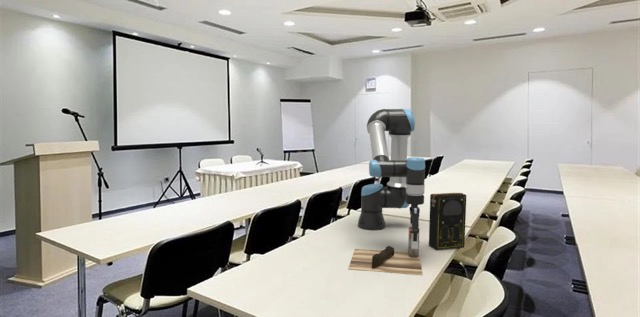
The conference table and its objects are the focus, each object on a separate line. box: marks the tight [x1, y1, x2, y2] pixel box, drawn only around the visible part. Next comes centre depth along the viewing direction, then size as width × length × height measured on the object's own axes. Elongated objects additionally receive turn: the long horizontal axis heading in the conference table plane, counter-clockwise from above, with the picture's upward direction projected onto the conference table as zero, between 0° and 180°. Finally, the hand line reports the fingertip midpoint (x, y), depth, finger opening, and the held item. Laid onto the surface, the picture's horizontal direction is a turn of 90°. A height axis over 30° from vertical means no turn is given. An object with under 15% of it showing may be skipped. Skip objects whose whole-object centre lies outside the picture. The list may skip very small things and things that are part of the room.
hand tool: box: [372, 245, 396, 268], centre depth 150 cm, size 19×4×5 cm, turn 145°
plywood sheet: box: [347, 248, 424, 276], centre depth 151 cm, size 24×28×1 cm
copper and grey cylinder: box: [407, 226, 420, 258], centre depth 156 cm, size 4×4×12 cm
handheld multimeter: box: [428, 192, 467, 251], centre depth 168 cm, size 16×9×25 cm, turn 105°
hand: (413, 243), depth 156 cm, fingers open, 13 cm apart
